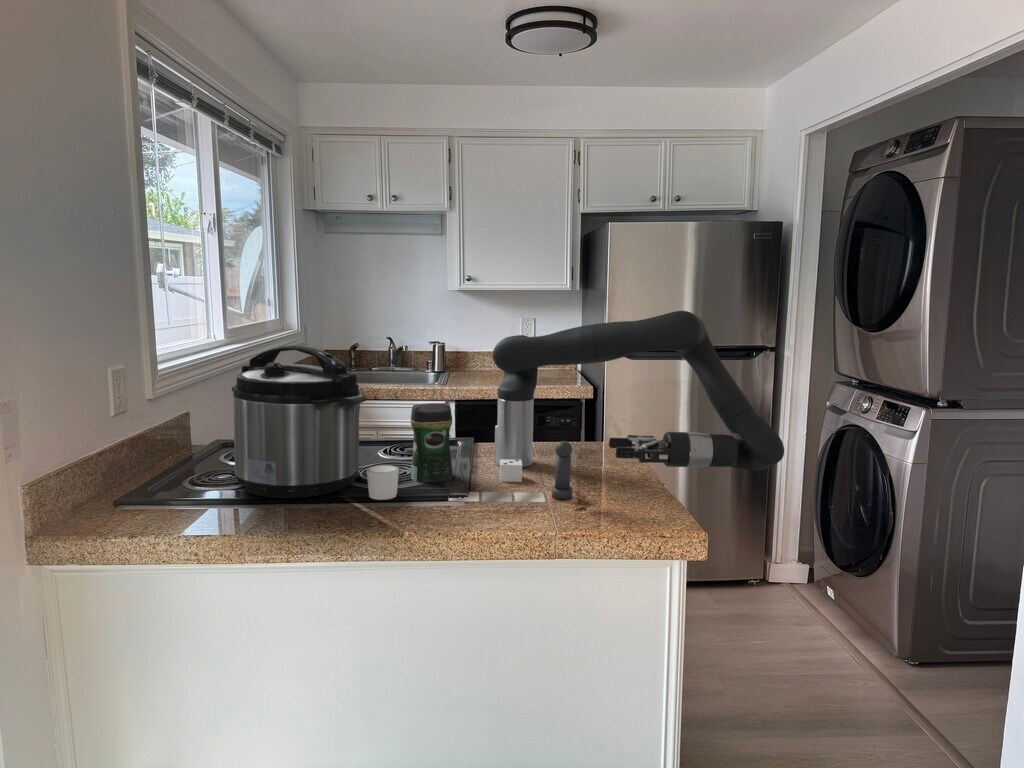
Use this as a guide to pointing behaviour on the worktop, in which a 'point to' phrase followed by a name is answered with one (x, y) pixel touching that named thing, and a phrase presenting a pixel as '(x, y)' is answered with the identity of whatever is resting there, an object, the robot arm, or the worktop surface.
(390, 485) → the white cup
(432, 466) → the coffee jar
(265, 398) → the pressure cooker
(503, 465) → the die
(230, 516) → the worktop surface
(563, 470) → the pawn
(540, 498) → the track board
